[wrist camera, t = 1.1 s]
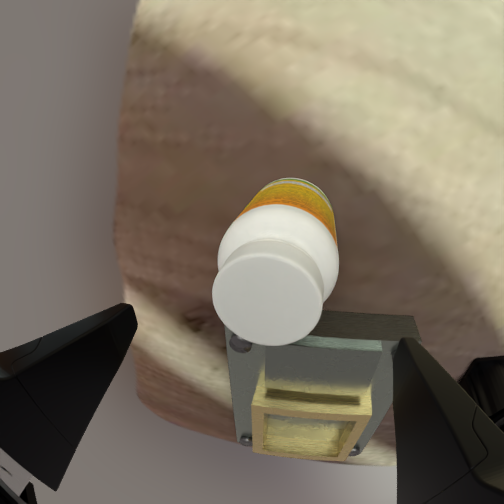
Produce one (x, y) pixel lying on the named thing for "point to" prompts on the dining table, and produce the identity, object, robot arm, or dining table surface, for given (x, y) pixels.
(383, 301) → the dining table surface
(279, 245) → the supplement bottle
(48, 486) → the robot arm
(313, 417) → the grey fixture plate
